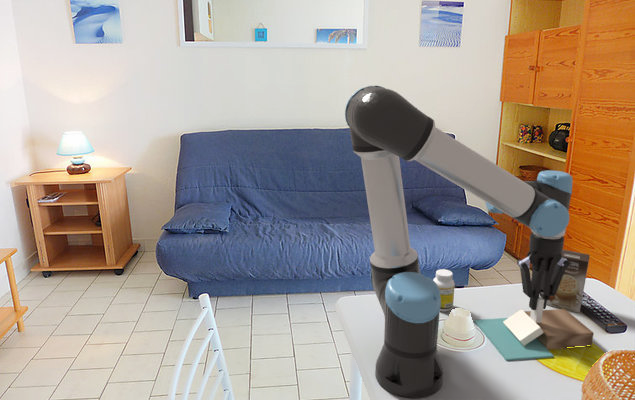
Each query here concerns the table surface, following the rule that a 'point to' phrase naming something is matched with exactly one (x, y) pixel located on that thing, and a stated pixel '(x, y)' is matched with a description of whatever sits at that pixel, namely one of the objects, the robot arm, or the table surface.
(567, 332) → the wooden block
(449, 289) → the pill bottle
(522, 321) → the cream flat block
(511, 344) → the mat
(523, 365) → the table surface
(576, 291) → the coffee box
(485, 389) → the table surface
